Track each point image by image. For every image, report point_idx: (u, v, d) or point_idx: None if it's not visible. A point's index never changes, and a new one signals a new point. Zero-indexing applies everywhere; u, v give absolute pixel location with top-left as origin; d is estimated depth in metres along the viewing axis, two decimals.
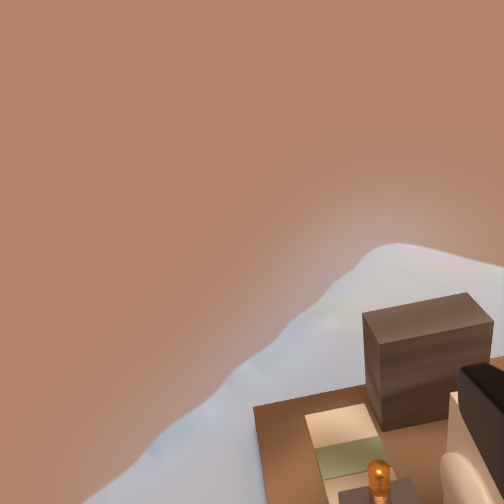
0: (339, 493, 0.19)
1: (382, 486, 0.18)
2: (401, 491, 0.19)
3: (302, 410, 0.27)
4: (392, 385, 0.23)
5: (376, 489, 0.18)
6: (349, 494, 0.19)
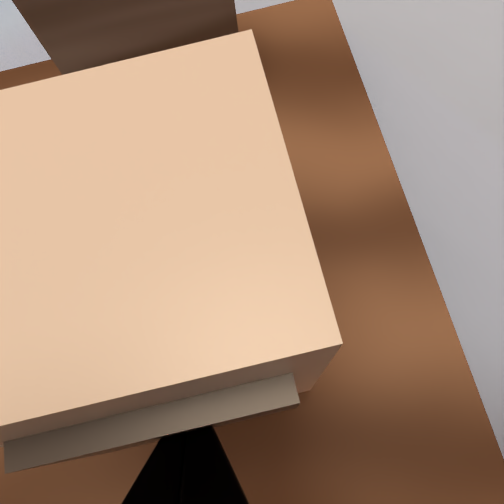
0: None
1: None
2: None
3: None
4: (74, 58, 0.14)
5: None
6: None
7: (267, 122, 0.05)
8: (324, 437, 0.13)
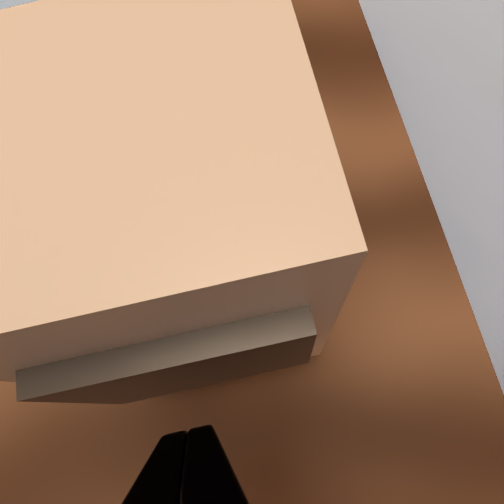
0: None
1: None
2: None
3: None
4: None
5: None
6: None
7: (290, 35, 0.05)
8: (340, 428, 0.13)
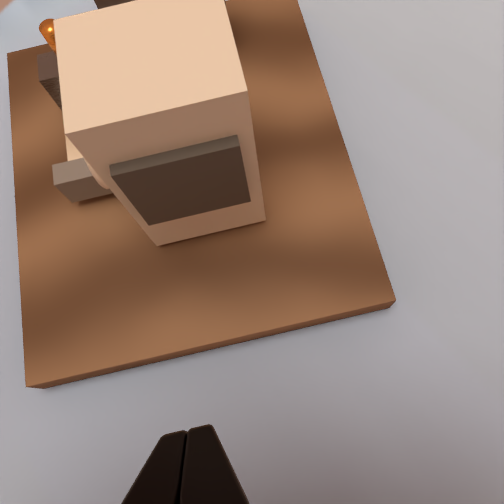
0: (37, 55, 0.22)
1: (55, 42, 0.20)
2: None
3: None
4: None
5: (52, 46, 0.20)
6: (46, 56, 0.22)
7: (223, 16, 0.13)
8: (278, 263, 0.21)
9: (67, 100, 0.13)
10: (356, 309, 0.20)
